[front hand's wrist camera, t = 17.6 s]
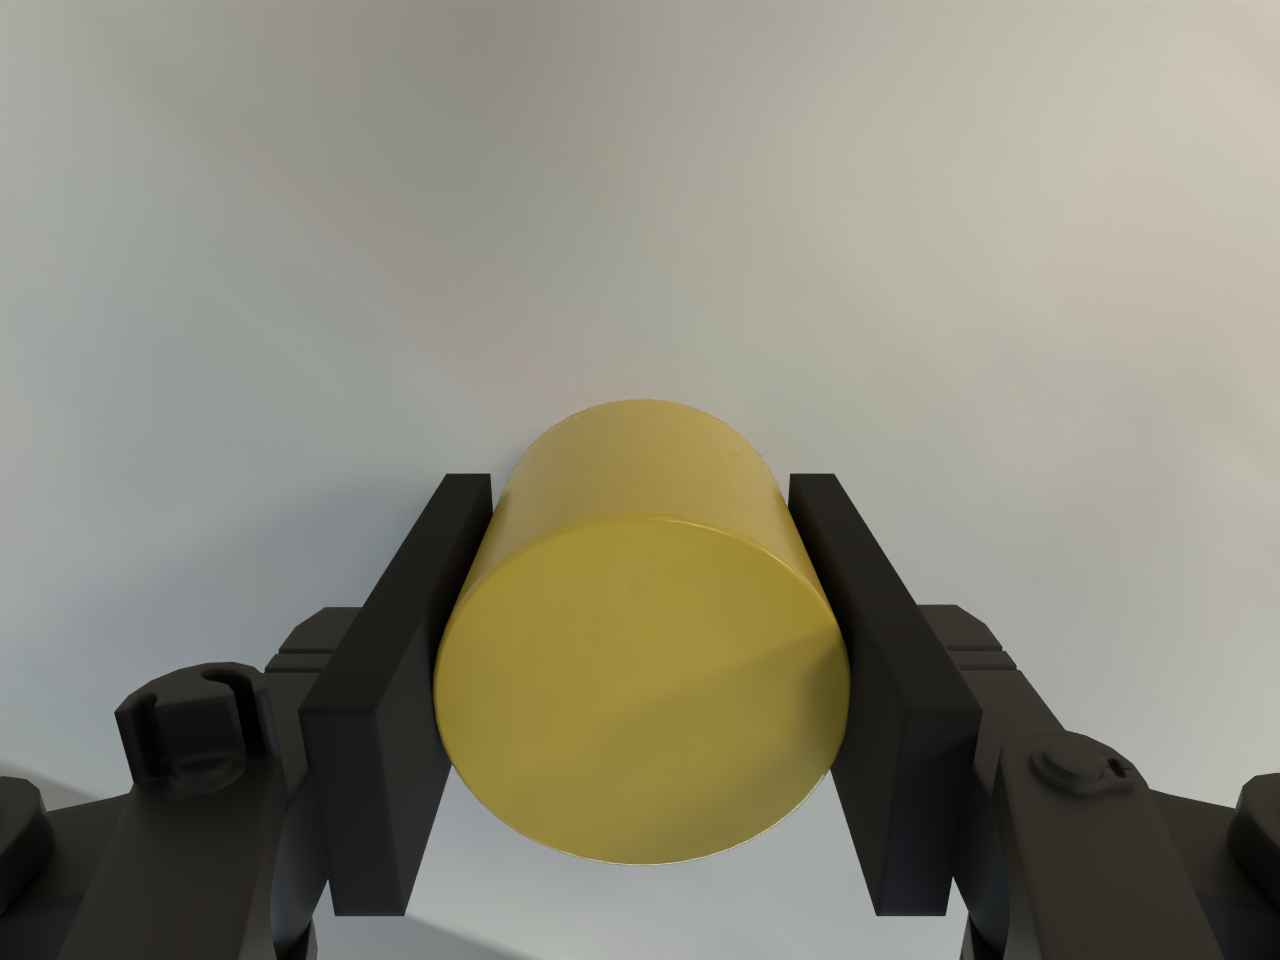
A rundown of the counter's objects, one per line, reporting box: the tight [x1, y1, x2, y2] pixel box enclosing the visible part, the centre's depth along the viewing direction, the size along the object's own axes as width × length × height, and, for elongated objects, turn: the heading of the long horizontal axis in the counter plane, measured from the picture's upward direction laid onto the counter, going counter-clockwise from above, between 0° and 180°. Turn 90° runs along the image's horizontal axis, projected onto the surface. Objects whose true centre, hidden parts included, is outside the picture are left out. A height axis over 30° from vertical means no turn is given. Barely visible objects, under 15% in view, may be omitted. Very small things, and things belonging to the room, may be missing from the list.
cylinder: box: [432, 399, 851, 866], centre depth 12 cm, size 5×5×5 cm
